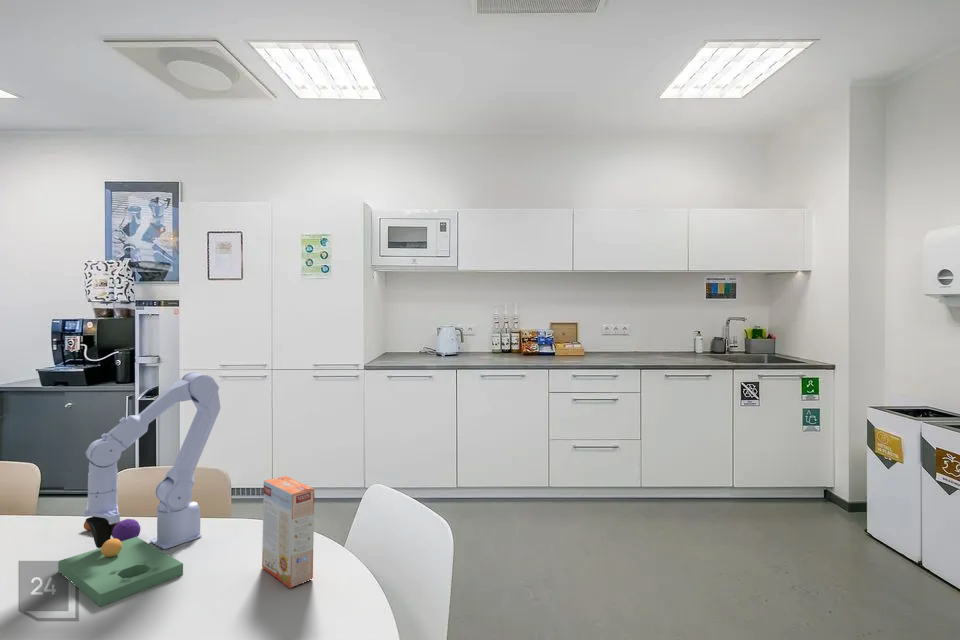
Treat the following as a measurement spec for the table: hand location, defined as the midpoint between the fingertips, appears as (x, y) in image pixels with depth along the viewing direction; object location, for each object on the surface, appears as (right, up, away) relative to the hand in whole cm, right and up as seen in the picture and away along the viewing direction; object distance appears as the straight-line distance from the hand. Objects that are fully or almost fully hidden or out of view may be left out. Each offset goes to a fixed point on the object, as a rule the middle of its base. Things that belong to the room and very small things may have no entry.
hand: (102, 546), depth 122 cm
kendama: (-8, -4, +13) cm, 16 cm away
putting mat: (+9, -4, -6) cm, 11 cm away
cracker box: (+47, -4, -5) cm, 47 cm away
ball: (+5, +1, -3) cm, 6 cm away
